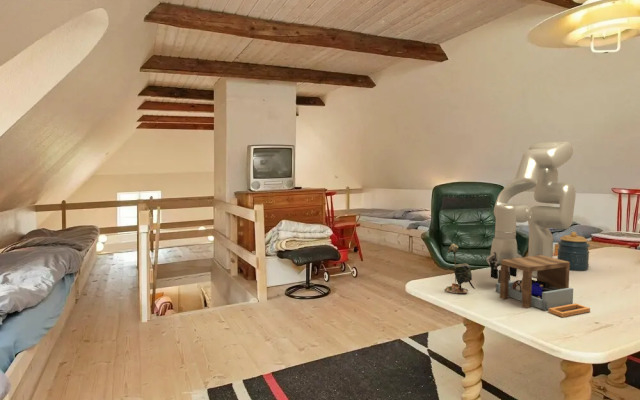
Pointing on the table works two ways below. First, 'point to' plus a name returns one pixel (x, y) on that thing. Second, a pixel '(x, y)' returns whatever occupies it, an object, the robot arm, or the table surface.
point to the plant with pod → (459, 274)
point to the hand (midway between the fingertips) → (503, 277)
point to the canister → (574, 251)
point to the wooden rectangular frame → (569, 310)
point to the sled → (548, 298)
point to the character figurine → (534, 287)
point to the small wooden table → (546, 272)
